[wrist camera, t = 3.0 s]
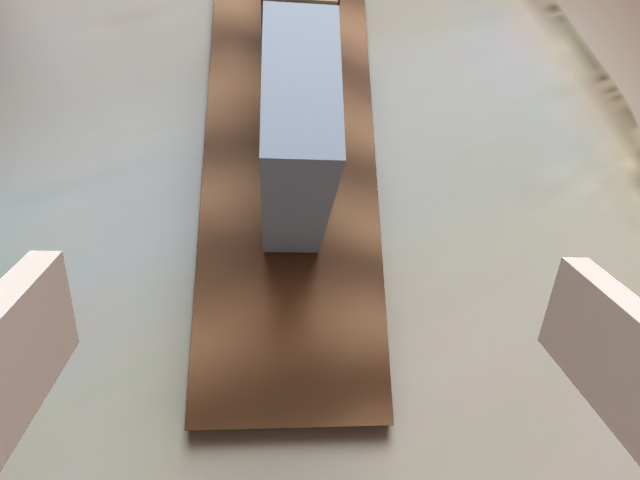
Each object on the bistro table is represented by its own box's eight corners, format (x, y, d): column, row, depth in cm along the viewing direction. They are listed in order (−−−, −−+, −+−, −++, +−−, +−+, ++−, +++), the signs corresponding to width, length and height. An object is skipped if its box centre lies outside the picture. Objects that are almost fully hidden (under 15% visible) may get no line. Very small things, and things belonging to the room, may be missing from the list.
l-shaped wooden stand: (389, 425, 25) (473, 429, 14) (188, 430, 24) (125, 438, 13) (360, -10, 35) (398, -191, 24) (217, -19, 34) (195, -211, 23)
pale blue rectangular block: (319, 252, 26) (346, 160, 17) (263, 252, 26) (259, 158, 17) (316, 140, 29) (339, 5, 19) (265, 138, 28) (263, 0, 19)
